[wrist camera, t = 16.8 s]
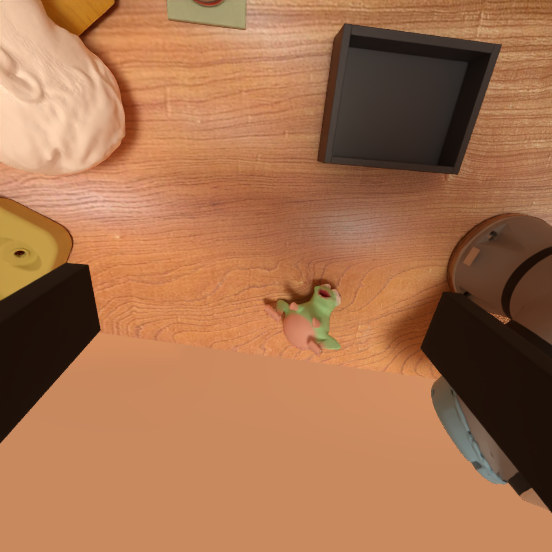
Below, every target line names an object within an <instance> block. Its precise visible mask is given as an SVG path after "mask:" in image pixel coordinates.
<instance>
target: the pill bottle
mask: <svg viewBox="0 0 552 552" xmlns="http://www.w3.org/2000/svg"><path fill="white" fill-rule="evenodd" d="M194 1H195V2H197V3H198V4H201V5H204V6H215V5H218V4H220V3H221V2H223V1H224V0H194Z"/></svg>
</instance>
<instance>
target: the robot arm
mask: <svg viewBox="0 0 552 552" xmlns="http://www.w3.org/2000/svg"><path fill="white" fill-rule="evenodd" d="M447 279H448V284H449V287H450V289H451V290H452V292H443V293H442V296H441V298H440V301H439V303H438V306H437V308H436V311H435V313H434V315H433V318H432V320H431V323H430V325H429V328H428V330H427V333H426V335H425V338H424V340H423V343H422V345H421V350H422V351H423V352H424V353H425V355H426V356H427V357H428V358H429V360H430V361H431V362H432V363H433V365H434V366H435V367H436V368H437V370H438V371H439V372H440V373H441V375H442V376H441V377H440V378H439V379H438V380H436V382H435V383H434V384H433V386H432V389H431V396H432V401H433V405H434V408H435V410H436V413H437V415H438V417H439V419H440V421H441V423H442V425H443V426H444V428H445V430H446V431H447V433H448V434H449V436H450V437H451V439H452V441H453V442H454V443H455V445H456V446H457V448H458V449H459V450H460V452H461V453H462V454H463V455H464V457H465V458H466V459H467V460H468V461H470V462H471V463H472V464H473V466H474V467H475V469H476V470H477V471H478V472H479V473H480V474H481V475H482V476H483V477H484V478H486V479H487V480H488V481H490V482H492V483H495V484H506V483H509V484H510V485H511V486H512V487H513V489H514V490H515V491H516V492H517V494H518V495H519V496H520V497H521V498H522V500H524V501H527V502H529V503H532V504H535V505H537V506H540V507H543V508H545V509H547V510H549V511H551V512H552V227H551V226H550V225H549V224H548V223H546V222H545V221H543V220H542V219H539V218H536V217H532V216H528V215H524V214H519V213H510V214H503V215H499V216H496V217H493V218H491V219H488V220H486V221H485V222H483V223H481V224H479V225H478V226H476V227H475V228H474V229H472V230H471V231H470V232H469V233H468V234H467V235H466V236H465V237H464V238H463V239H462V240H461V241H460V243H459V244H458V245H457V247H456V249H455V250H454V252H453V254H452V256H451V258H450V261H449V265H448V270H447ZM487 311H488V312H491V313H495V314H498V315H501V316H505V317H508V318H509V319H511V320H510V321H509V322H508V323H506V324H503V323H502V322H501V321H499V320H498V319H497V318H495V317H494V316H492V315H491V314H490V313H488V312H487ZM100 330H101V329H100V324H99V319H98V313H97V308H96V303H95V297H94V292H93V287H92V281H91V276H90V271H89V265H85V264H72V263H64V264H62V265H61V266H59V267H57V268H55V269H54V270H52V271H50V272H49V273H47V274H45V275H43V276H42V277H40V278H38V279H37V280H35V281H33V282H31V283H30V284H28V285H26V286H25V287H23V288H21V289H19V290H18V291H16V292H14V293H12V294H11V295H9V296H7V297H6V298H4V299H2V300H0V443H1V442H2V441H3V440H4V438H5V437H6V436H7V435H8V434H9V433H10V432H11V431H12V429H13V428H14V427H15V426H16V425H17V424H18V422H20V421H21V419H22V418H23V417H24V416H25V415H26V414H27V413H28V412H29V410H30V409H31V408H32V407H33V406H34V405H35V404H36V402H37V401H38V400H39V399H40V398H41V397H42V396H43V395H44V393H45V392H46V391H47V390H48V389H49V388H50V387H51V385H52V384H53V383H54V382H55V381H56V380H57V379H58V378H59V377H60V375H61V374H62V373H63V372H64V371H65V370H66V369H67V368H68V366H69V365H70V364H71V363H72V362H73V361H74V360H75V358H76V357H77V356H78V355H79V354H80V353H81V352H82V351H83V349H84V348H85V347H86V346H87V345H88V344H89V343H90V341H91V340H92V339H93V338H94V337H95V336H96V335H97V334H98V333H99V331H100Z"/></svg>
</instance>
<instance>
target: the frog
mask: <svg viewBox="0 0 552 552" xmlns="http://www.w3.org/2000/svg"><path fill="white" fill-rule="evenodd" d="M330 288H331V286H330V284H323V285H321V286H315V287H314V294H313V296H312V298H311V300H310V301H309V302H306V303H302V304H298V305H297V304H296V303H294V302H292V303H291V304H290V305H289V304H288V303H287V302H285V301H283V300H280V299H279V300H278V301H277V308H276V311H275V310H274V309H272V308H271V307H270V306H269V305H266V306H265V308H264V311H266V312H267V313H268V314H269V315H270V316H271V317H272V318H273V319H274V320H275V321H277V322H279V321H280V319H281V315H282V313H283V312H285V319H284V322H283V331H284V334H285V336H286V338H287V340H288V341H289V342H290V343H291V344H292V345H293V346H295V347H296V348H298V349H301V350H311V351H313V352H314V353H315V354H316V355H317V356H319V355H320V354H321V352H322V349H335V350H339V349H340V348H341V346H340V344H339V343H338V342H337V341H336V340H335V339H334V338H332V337H331V336H330V335H328V333H329V320H330V314H331V312H332V311H333V310H334V308H335V307H336V306H338V305H340V303H341V296H340V294H339V292H338V291H337V290H336V289H333V290H331V289H330Z"/></svg>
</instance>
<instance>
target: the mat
mask: <svg viewBox="0 0 552 552" xmlns="http://www.w3.org/2000/svg"><path fill="white" fill-rule="evenodd" d="M167 11H168V19H169V20H172V21H180V22H188V23H196V24H203V25H211V26H219V27H227V28H234V29H242V30H245V29H246V0H224V1H223V2H221V3H220V4H218V5H215V6H204V5H201V4H198V3H197V2H195V1H194V0H167Z"/></svg>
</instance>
